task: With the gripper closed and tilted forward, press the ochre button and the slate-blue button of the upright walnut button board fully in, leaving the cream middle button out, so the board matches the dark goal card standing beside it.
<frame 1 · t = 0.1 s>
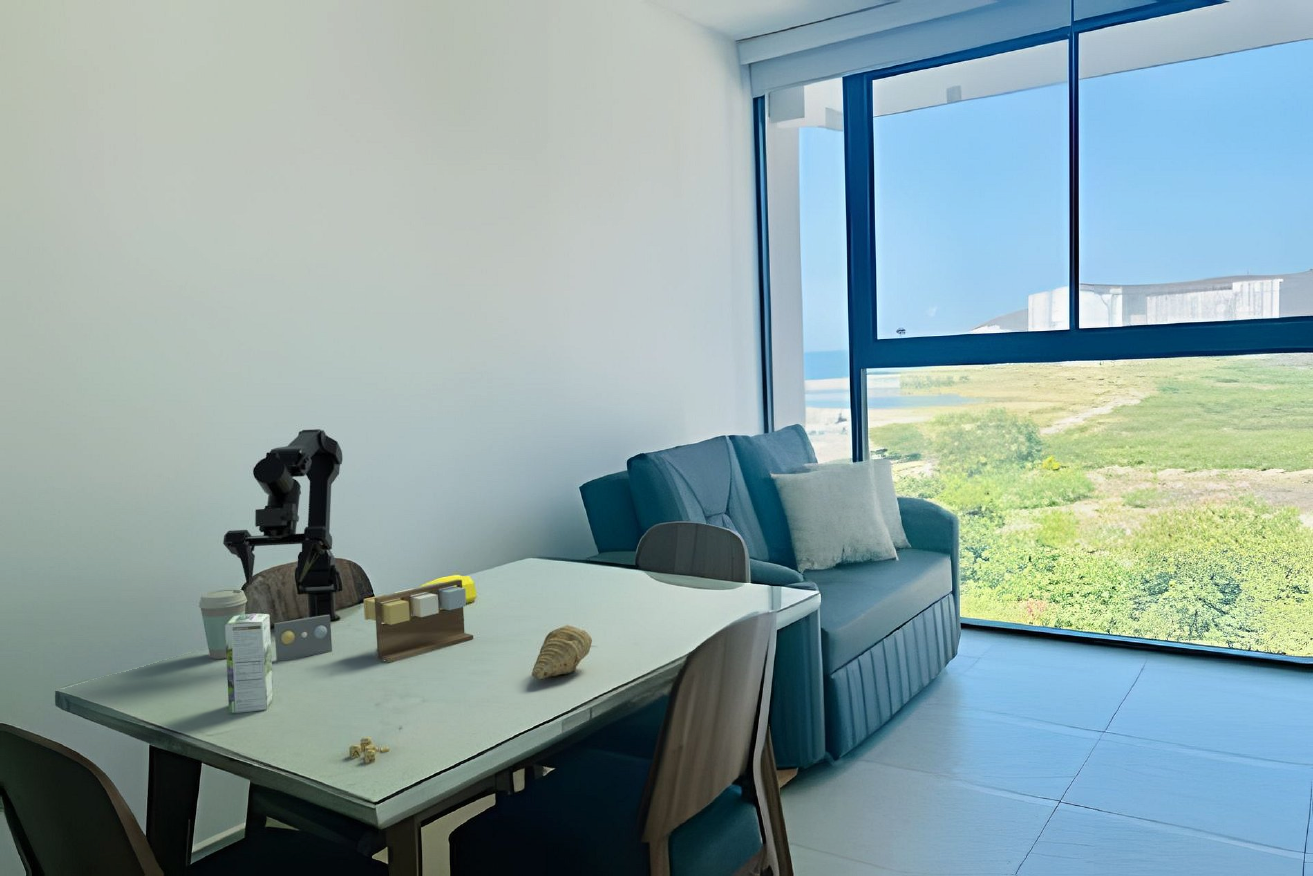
hand: (274, 582, 180), 15 cm above the table, tool tilted 35°, fingers open, 9 cm apart
seashell: (558, 678, 166), on the table
goal card: (304, 655, 184), on the table
middle button: (416, 603, 187), point 9 cm above the table, slide at 0.0 cm
right button: (444, 596, 192), point 9 cm above the table, slide at 0.0 cm
syrup box: (252, 707, 156), on the table
left button: (386, 610, 183), point 9 cm above the table, slide at 0.0 cm
coffee cup: (226, 655, 187), on the table
yellow curved piece: (446, 608, 221), on the table
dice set: (367, 760, 134), on the table
button board: (422, 647, 187), on the table
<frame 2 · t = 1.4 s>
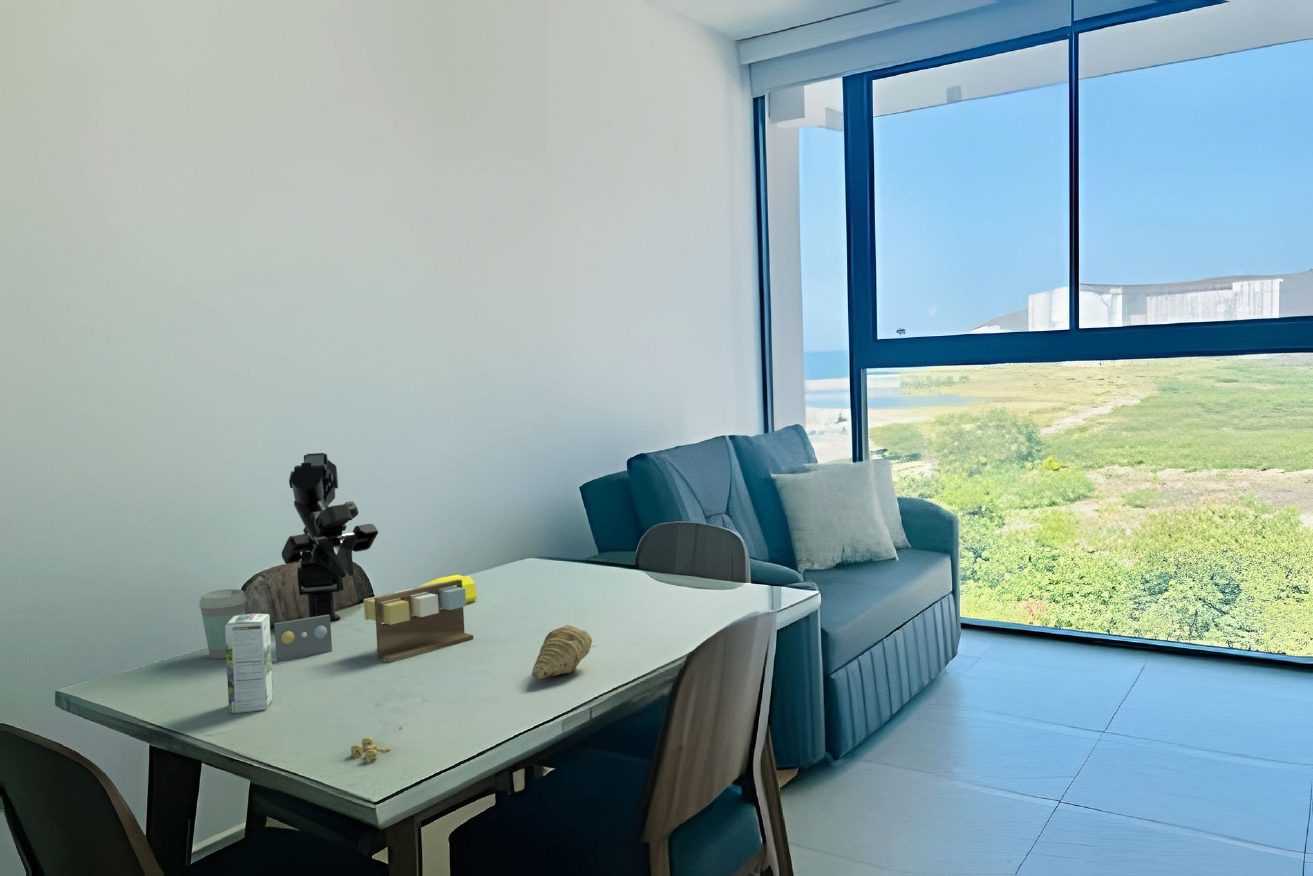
hand: (348, 575, 191), 14 cm above the table, tool tilted 45°, fingers closed
nothing on the table moved.
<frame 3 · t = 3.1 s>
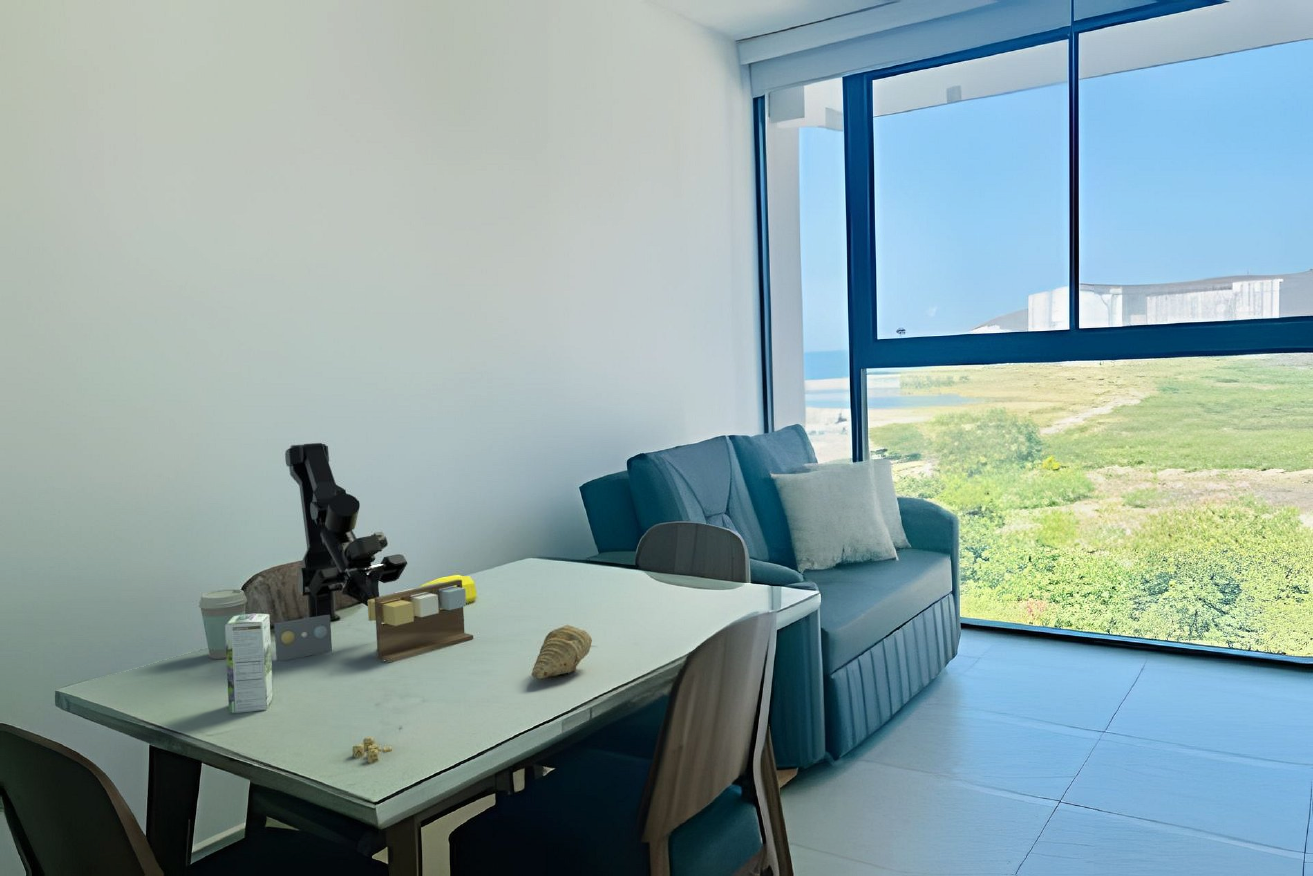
hand: (377, 609, 185), 8 cm above the table, tool tilted 45°, fingers closed, pressing on left button
left button: (391, 611, 182), point 8 cm above the table, slide at 1.4 cm, touching gripper
everything else where it was.
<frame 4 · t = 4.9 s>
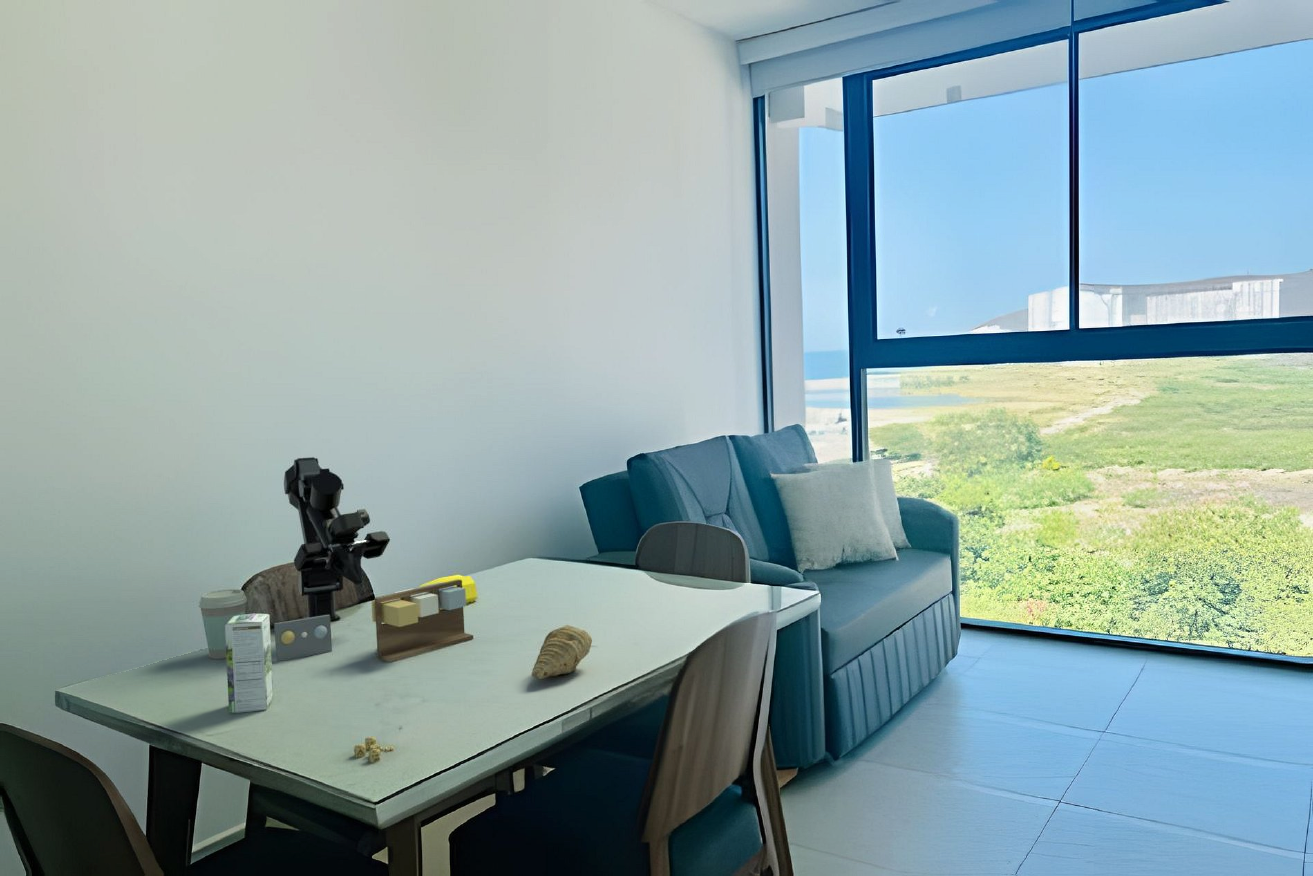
hand: (359, 583, 192), 12 cm above the table, tool tilted 45°, fingers closed
left button: (395, 612, 181), point 9 cm above the table, slide at 2.7 cm
everything else where it was.
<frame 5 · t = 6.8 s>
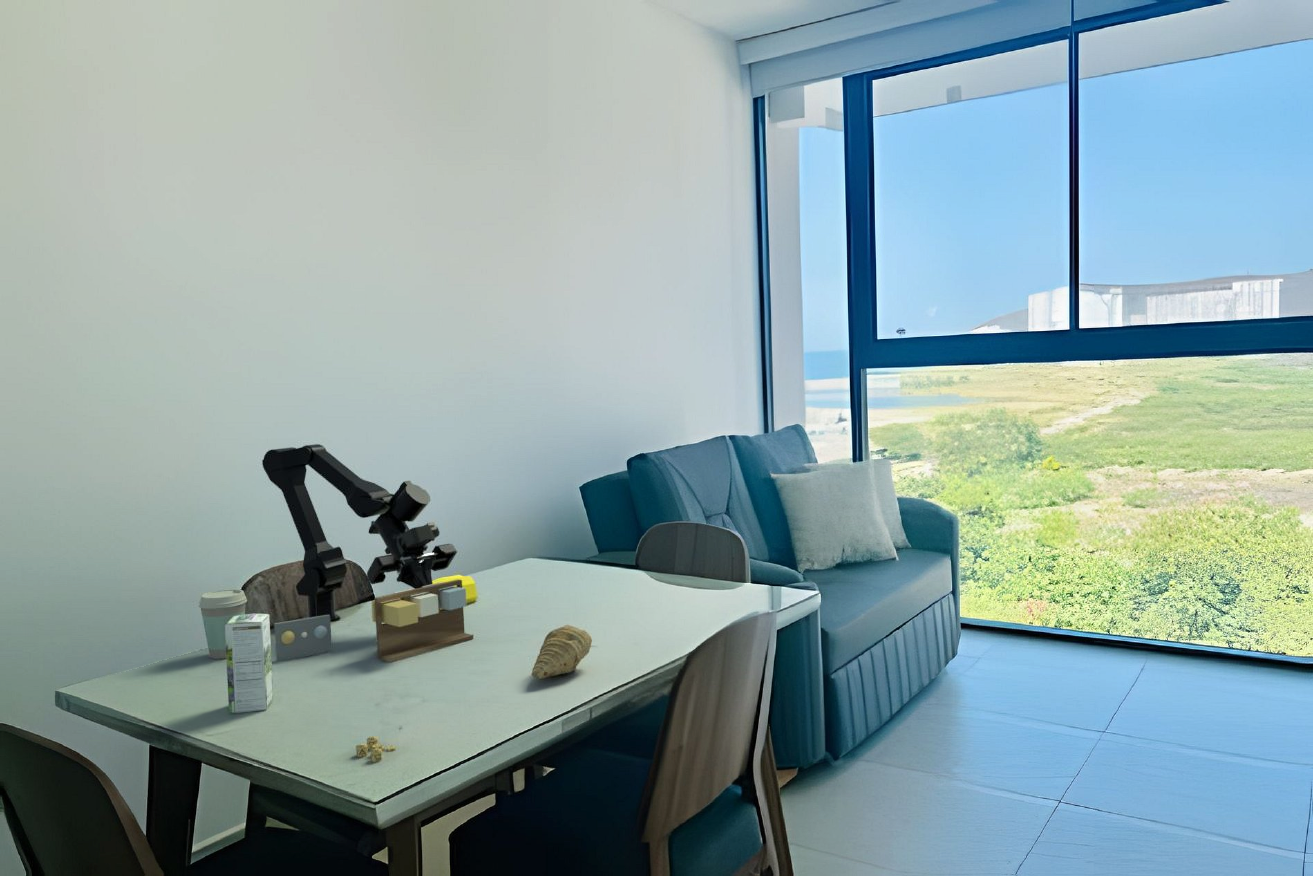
hand: (431, 595, 195), 8 cm above the table, tool tilted 45°, fingers closed, pressing on right button
right button: (444, 596, 192), point 8 cm above the table, slide at 0.1 cm, touching gripper
everything else where it was.
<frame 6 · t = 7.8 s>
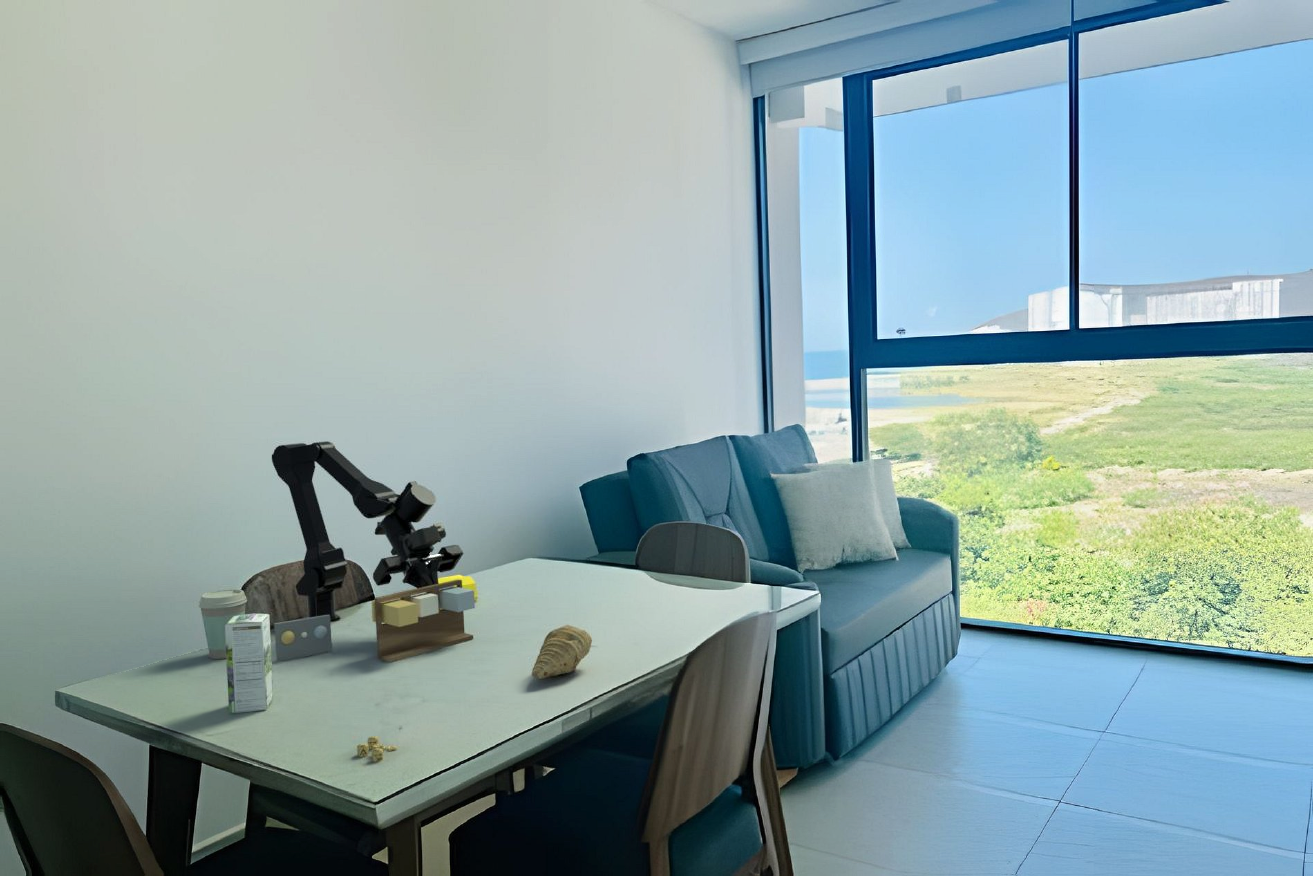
hand: (437, 597, 194), 8 cm above the table, tool tilted 45°, fingers closed
right button: (452, 598, 190), point 8 cm above the table, slide at 2.8 cm
everything else where it was.
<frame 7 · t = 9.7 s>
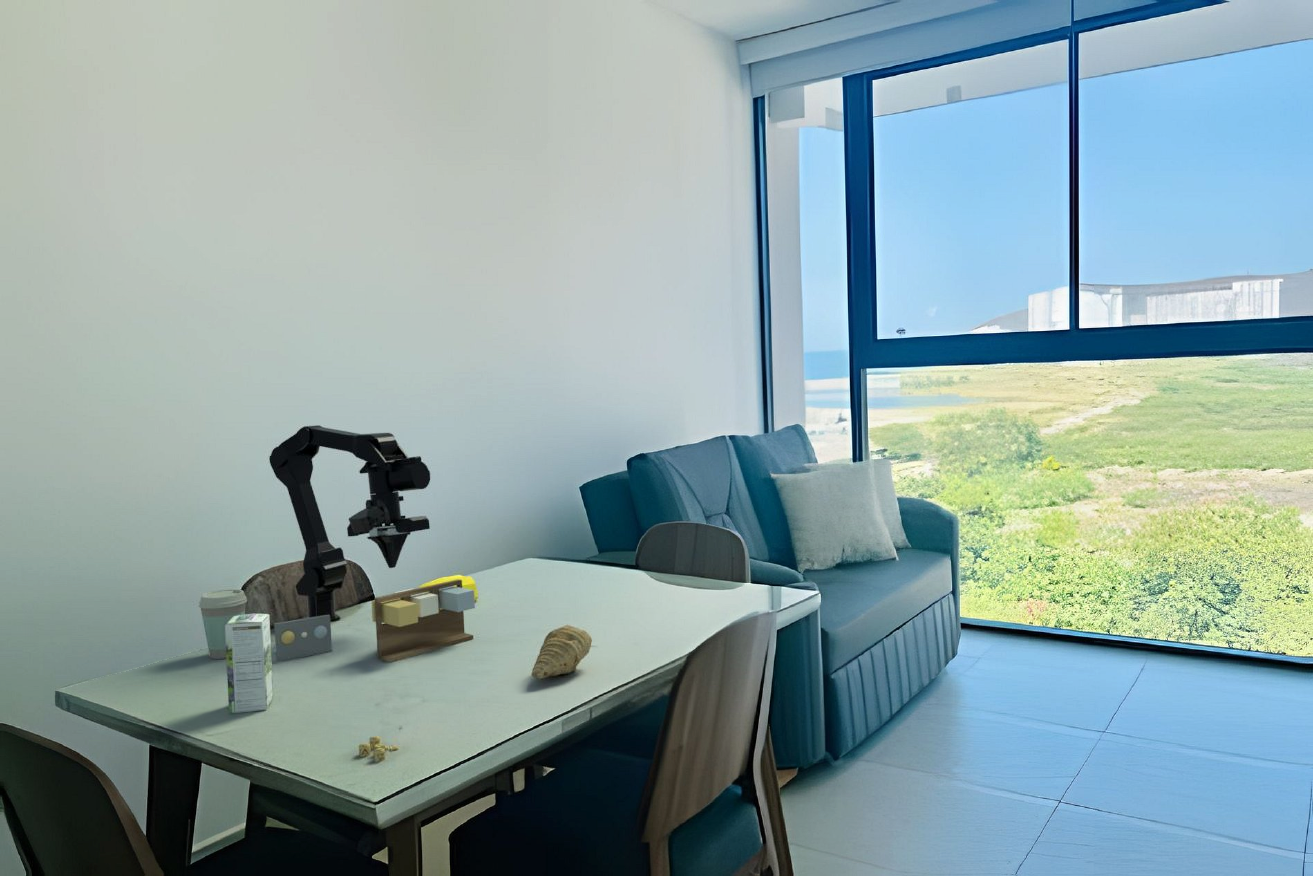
hand: (392, 567, 202), 13 cm above the table, tool pointing down, fingers closed
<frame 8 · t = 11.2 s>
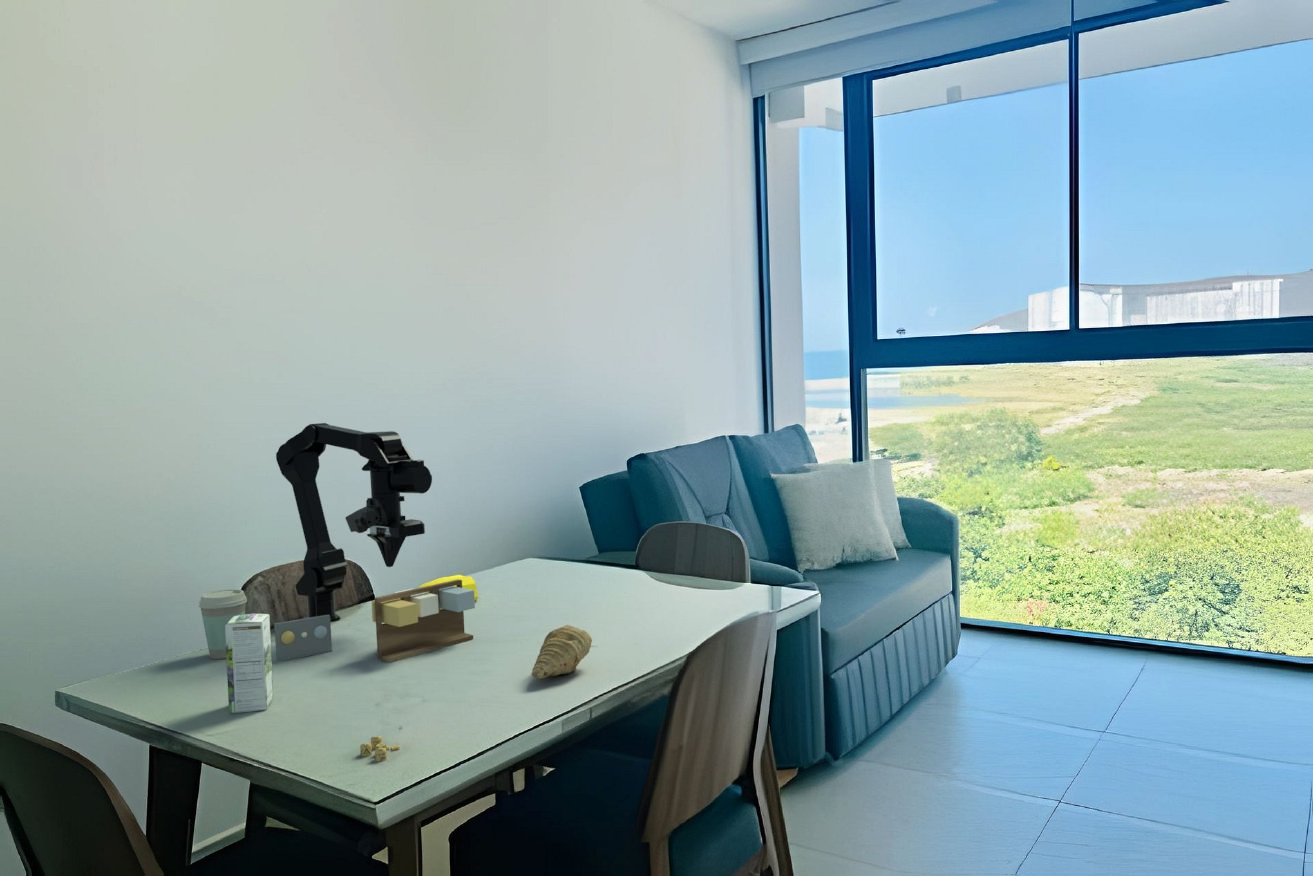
hand: (389, 566, 202), 13 cm above the table, tool pointing down, fingers closed
at the end: left button slide at 2.7 cm; right button slide at 2.8 cm; middle button slide at 0.0 cm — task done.
